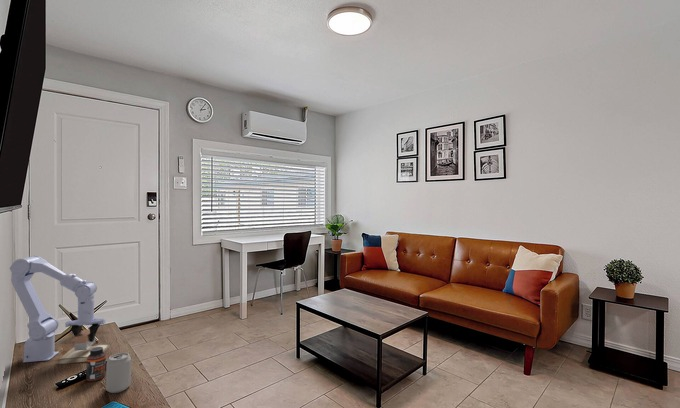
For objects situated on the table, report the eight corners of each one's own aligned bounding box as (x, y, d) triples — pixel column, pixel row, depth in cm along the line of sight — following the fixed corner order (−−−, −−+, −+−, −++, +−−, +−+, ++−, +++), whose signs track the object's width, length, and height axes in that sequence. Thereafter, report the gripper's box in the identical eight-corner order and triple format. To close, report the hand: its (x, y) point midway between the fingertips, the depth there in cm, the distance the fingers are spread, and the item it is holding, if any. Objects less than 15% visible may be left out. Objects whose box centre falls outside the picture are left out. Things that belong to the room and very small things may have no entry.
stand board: (57, 363, 141) (57, 359, 141) (74, 349, 154) (74, 346, 154) (96, 360, 144) (96, 356, 144) (109, 346, 158) (109, 343, 158)
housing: (74, 350, 144) (74, 336, 144) (83, 342, 152) (83, 329, 152) (86, 349, 145) (86, 335, 145) (95, 342, 153) (95, 328, 153)
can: (126, 380, 129) (126, 349, 128) (133, 388, 124) (134, 355, 124) (103, 389, 123) (103, 356, 123) (110, 396, 118) (110, 362, 118)
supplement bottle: (95, 383, 127) (95, 352, 127) (82, 381, 128) (82, 351, 128) (109, 375, 132) (109, 346, 132) (96, 373, 134) (97, 344, 134)
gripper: (61, 314, 143) (61, 346, 143) (100, 312, 147) (100, 343, 147) (70, 309, 150) (69, 340, 150) (107, 307, 154) (107, 337, 154)
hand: (85, 341), depth 149 cm, fingers closed on housing, 4 cm apart
